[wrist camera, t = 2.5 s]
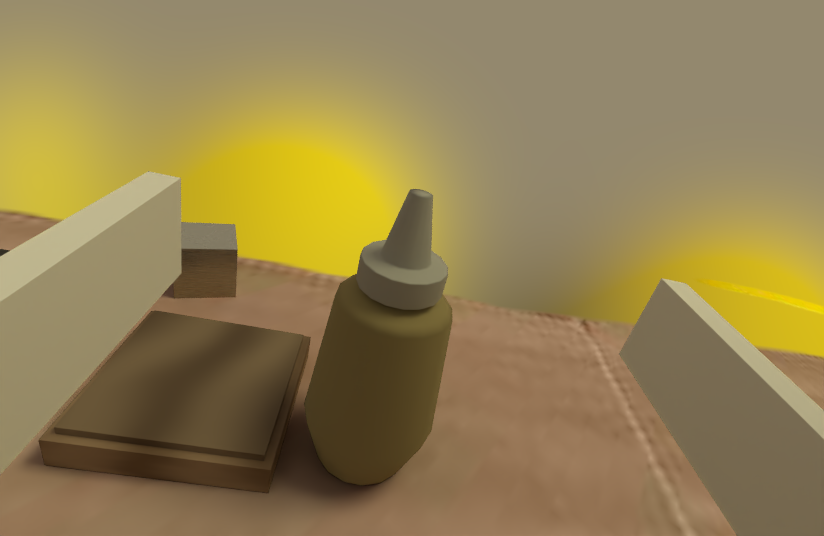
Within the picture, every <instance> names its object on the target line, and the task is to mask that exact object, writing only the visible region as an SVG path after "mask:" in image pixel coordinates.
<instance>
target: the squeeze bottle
mask: <svg viewBox="0 0 824 536" xmlns="http://www.w3.org/2000/svg"><path fill="white" fill-rule="evenodd" d="M432 206H433V195H432V194H430V193H429V192H426V191H424V190H420V189H411V190H410V191H409V193H408V195H407V197H406V199H405V201H404V203H403V206H402V208H401V210H400V212H399V214H398V216H397V218H396V221H395V223H394V225H393V227H392V229H391V231H390V233H389V236H388V238H387V240H382V241H376V242H373V243H371V244H369V245H367V246H366V247H364V248H363V250H362V253H361V255H360V260H359V265H358V271H357V274H355V275H353V276H351V277H350V278H348V279H346V280H345V281H343V282H342V283H340V286H339V288H338V290H337V292H336V295H335V298H334V301H333V305H332V308H331V312H330V315H329V319H328V322H327V326H326V329H325V333H324V336H323V340H322V343H321V347H320V350H319V354H318V357H317V361H316V364H315V368H314V371H313V375H312V378H311V382H310V385H309V389H308V392H307V396H306V399H305V403H304V406H305V412H306V419H307V425H308V428H309V431H310V434H311V437H312V440H313V443H314V446H315V449H316V452H317V455H318V458H319V459H320V461H321V462H322V464H323V465H324V467H325V468H326V469H327V471H328V472H329V473H331V474H332V475H334V476H336V477H337V478H339V479H340V480H342V481H343V482H348V483H353V484H357V485H369V484H376V483H381V482H382V481H384V480H386V479H387V478H389V477H391V476H392V475H394V474H395V473H396V472H397V471H398V470H399V469H400V468H401V467H402V466H403V465H404V464H405V463H406V462H407V461H408V460H409V459H410V458H411V457H412V456H413V455H414V454H415V453H416V452H417V451H418V450H419V449H420V448H421V446H422V445H423V443H424V442H425V440H426V439H427V437H428V435H429V434H430V432H431V429H432V424H433V419H434V414H435V408H436V403H437V398H438V393H439V388H440V382H441V377H442V372H443V367H444V361H445V356H446V351H447V346H448V341H449V335H450V330H451V325H452V308H451V306H450V305H449V303H448V302H447V300H446V298H445V297H444V296H443V294H442V293H443V290H444V286H445V283H446V280H447V276H448V267H447V265H446V264H445V262H444V261H443V260H442V258H441V257H439V256H438V255H437V254H435V253H434V252H432V251H431V240H432V208H433V207H432Z"/></svg>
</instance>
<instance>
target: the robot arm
mask: <svg viewBox="0 0 824 536" xmlns="http://www.w3.org/2000/svg"><path fill="white" fill-rule="evenodd" d="M180 274H181V178H177V177H173V176H168V175H163V174H158V173H154V172H149V171H148V172H147V173H145V174H143V175H141V176H140V177H138V178H136V179H134V180H133V181H131V182H129V183H128V184H126V185H124V186H122V187H120V188H119V189H117V190H115V191H114V192H112V193H110V194H108V195H107V196H105V197H103V198H101V199H100V200H98V201H96V202H95V203H93V204H91V205H89V206H87V207H86V208H84V209H82V210H80V211H79V212H77V213H75V214H73V215H72V216H70V217H68V218H66V219H65V220H63V221H61V222H59V223H58V224H56V225H54V226H52V227H51V228H49V229H47V230H45V231H44V232H42V233H40V234H39V235H37V236H35V237H33V238H32V239H30V240H28V241H26V242H25V243H23V244H21V245H19V246H18V247H16V248H14V249H12V250H11V251H9V250H3V249H0V475H1V474H2V472H3V471H4V470H5V469H6V468H7V467H8V466H9V465H10V463H11V462H12V461H13V460H14V459H15V458H16V457H17V456H18V455H19V453H20V452H21V451H22V450H23V449H24V448H25V447H26V446H27V445H28V443H29V442H30V441H31V440H32V439H33V438H34V437H35V436H36V435H37V433H38V432H39V431H40V430H41V429H42V428H43V427H44V426H45V425H46V423H47V422H48V421H49V420H50V419H51V418H52V417H53V416H54V414H55V413H56V412H57V411H58V410H59V409H60V408H61V407H62V406H63V404H64V403H65V402H66V401H67V400H68V399H69V398H70V397H71V396H72V394H73V393H74V392H75V391H76V390H77V389H78V388H79V387H80V386H81V384H82V383H83V382H84V381H85V380H86V379H87V378H88V377H89V376H90V374H91V373H92V372H93V371H94V370H95V369H96V368H97V367H98V366H99V364H100V363H101V362H102V361H103V360H104V359H105V358H106V357H107V355H108V354H109V353H110V352H111V351H112V350H113V349H114V348H115V347H116V345H117V344H118V343H119V342H120V341H121V340H122V339H123V338H124V337H125V335H126V334H127V333H128V332H129V331H130V330H131V329H132V328H133V327H134V325H135V324H136V323H137V322H138V321H139V320H140V319H141V318H142V317H143V315H144V314H145V313H146V312H147V311H148V310H149V309H150V308H151V306H152V305H153V304H154V303H155V302H156V301H157V300H158V299H159V298H160V296H161V295H162V294H163V293H164V292H165V291H166V290H167V289H168V288H169V286H170V285H171V284H172V283H173V282H174V281H175V280H176V279H177V278H178V276H179V275H180ZM619 355H620V356H621V358H622V359H623V361H624V362H625V364H626V365H627V367H628V368H629V370H630V372H631V373H632V375H633V376H634V378H635V379H636V381H637V382H638V384H639V385H640V387H641V388H642V390H643V392H644V393H645V395H646V396H647V398H648V399H649V401H650V402H651V404H652V405H653V407H654V408H655V410H656V412H657V413H658V415H659V416H660V418H661V419H662V421H663V422H664V424H665V425H666V427H667V428H668V430H669V432H670V433H671V435H672V436H673V438H674V439H675V441H676V442H677V444H678V445H679V447H680V448H681V450H682V451H683V453H684V455H685V456H686V458H687V459H688V461H689V462H690V464H691V465H692V467H693V468H694V470H695V471H696V473H697V475H698V476H699V478H700V479H701V481H702V482H703V484H704V485H705V487H706V488H707V490H708V491H709V493H710V495H711V496H712V498H713V499H714V501H715V502H716V504H717V505H718V507H719V508H720V510H721V511H722V513H723V515H724V516H725V518H726V519H727V521H728V522H729V524H730V525H731V527H732V528H733V530H734V531H735V533H736V535H737V536H824V410H823V409H821V408H820V407H819V406H818V405H817V404H816V403H815V402H814V401H813V400H812V399H811V398H810V397H808V396H807V395H806V394H805V393H804V392H803V391H802V390H801V389H800V388H799V387H798V386H797V385H795V384H794V383H793V382H792V381H791V380H790V379H789V378H788V377H787V376H786V375H785V374H784V373H782V372H781V371H780V370H779V369H778V368H777V367H776V366H775V365H774V364H773V363H772V362H771V361H769V360H768V359H767V358H766V357H765V356H764V355H763V354H762V353H761V352H760V351H759V350H757V349H756V348H755V347H754V346H753V345H752V344H751V343H750V342H749V341H748V340H747V339H746V338H744V337H743V336H742V335H741V334H740V333H739V332H738V331H737V330H736V329H735V328H734V327H732V326H731V325H730V324H729V323H728V322H727V321H726V320H725V319H724V318H723V317H722V316H721V315H720V314H718V313H717V312H716V311H715V310H714V309H713V308H712V307H711V306H710V305H709V304H708V303H706V302H705V301H704V300H703V299H702V298H701V297H700V296H699V295H698V294H697V293H695V291H693V290H692V289H691V288H690V287H689V286H688V285H687V284H686V283H680V282H676V281H671V280H666V279H661V280H660V282H659V284H658V286H657V287H656V289H655V291H654V293H653V295H652V296H651V298H650V300H649V302H648V303H647V305H646V307H645V309H644V310H643V312H642V314H641V316H640V318H639V319H638V321H637V323H636V325H635V326H634V328H633V330H632V332H631V334H630V335H629V337H628V339H627V341H626V342H625V344H624V346H623V348H622V350H621V351H620V353H619Z"/></svg>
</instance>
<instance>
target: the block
mask: <svg viewBox="0 0 824 536" xmlns="http://www.w3.org/2000/svg"><path fill="white" fill-rule="evenodd" d="M236 276H237V240H236V230H235V225H234V224H211V223H186V222H181V274H180V275H179V276H178V278H177V279H176V280H175V281H174V282H173V287H174V298H218V297H236Z"/></svg>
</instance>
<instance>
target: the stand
mask: <svg viewBox="0 0 824 536" xmlns="http://www.w3.org/2000/svg"><path fill="white" fill-rule="evenodd" d="M310 338H311V337H306V336H304V335H301V334H295V333H288V332H282V331H276V330H270V329H264V328H258V327H252V326H246V325H240V324H234V323H228V322H222V321H216V320H209V319H203V318H197V317H191V316H185V315H179V314H173V313H167V312H161V311H151V312H150V313H149V314H148V315H147V317H146V318H145V319H144V320H143V321H142V322H141V323H140V325H139V326H138V327H137V328H136V329H135V330H134V331H133V333H132V334H131V335H130V336H129V337H128V338H127V339H126V341H125V342H124V343H123V344H122V345H121V346H120V347H119V349H118V350H117V351H116V352H115V353H114V354H113V355H112V357H111V358H110V359H109V360H108V361H107V362H106V363H105V365H104V366H103V367H102V368H101V369H100V370H99V371H98V373H97V374H96V375H95V376H94V377H93V378H92V379H91V381H90V382H89V383H88V384H87V385H86V386H85V387H84V389H83V390H82V391H81V392H80V393H79V394H78V395H77V397H76V398H75V399H74V400H73V401H72V402H71V403H70V405H69V406H68V407H67V408H66V409H65V410H64V411H63V413H62V414H61V415H60V416H59V417H58V418H57V419H56V421H55V422H54V423H53V424H52V425H51V426H50V427H49V429H48V430H47V431H46V432H45V433H44V434H43V435H42V437H41V438H40V439H39V444H40V448H41V452H42V456H43V460H44V464H45V465H48V466H56V467H65V468H73V469H81V470H89V471H97V472H105V473H113V474H121V475H129V476H137V477H145V478H153V479H161V480H169V481H177V482H185V483H193V484H201V485H209V486H217V487H225V488H234V489H242V490H250V491H258V492H266V493H268V492H269V489H270V485H271V482H272V478H273V475H274V471H275V468H276V465H277V461H278V458H279V454H280V451H281V447H282V444H283V440H284V437H285V434H286V430H287V427H288V423H289V420H290V416H291V413H292V410H293V406H294V403H295V399H296V396H297V392H298V389H299V385H300V382H301V379H302V375H303V372H304V368H305V365H306V361H307V358H308V352H309V345H310Z"/></svg>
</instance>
